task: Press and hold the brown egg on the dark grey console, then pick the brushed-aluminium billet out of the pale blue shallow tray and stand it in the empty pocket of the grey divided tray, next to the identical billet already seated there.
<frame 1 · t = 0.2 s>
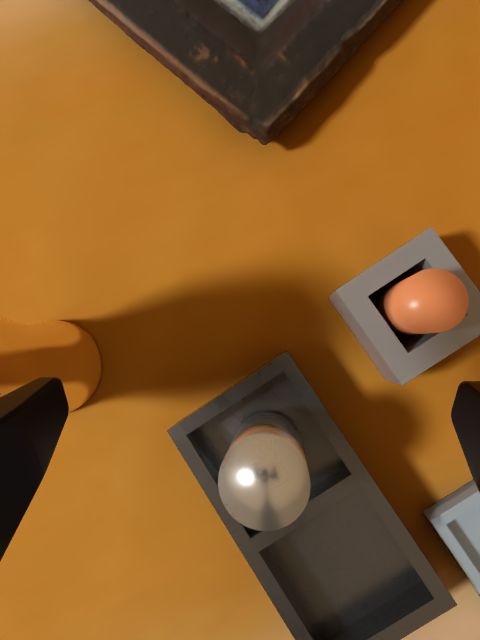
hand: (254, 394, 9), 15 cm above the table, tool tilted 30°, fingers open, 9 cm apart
button console: (398, 310, 23), on the table
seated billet: (267, 446, 23), point 1 cm above the table, touching grey divided tray
grey divided tray: (302, 494, 23), on the table
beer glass: (59, 366, 25), on the table
brown egg: (418, 304, 20), point 3 cm above the table, slide at 0.0 cm
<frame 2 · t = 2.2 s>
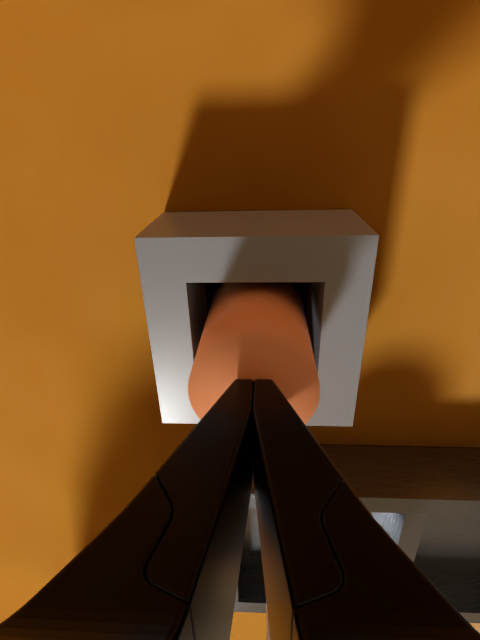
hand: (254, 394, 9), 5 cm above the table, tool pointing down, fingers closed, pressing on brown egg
button console: (257, 297, 14), on the table
grey divided tray: (384, 509, 18), on the table
brown egg: (255, 348, 10), point 3 cm above the table, slide at 0.0 cm, touching gripper
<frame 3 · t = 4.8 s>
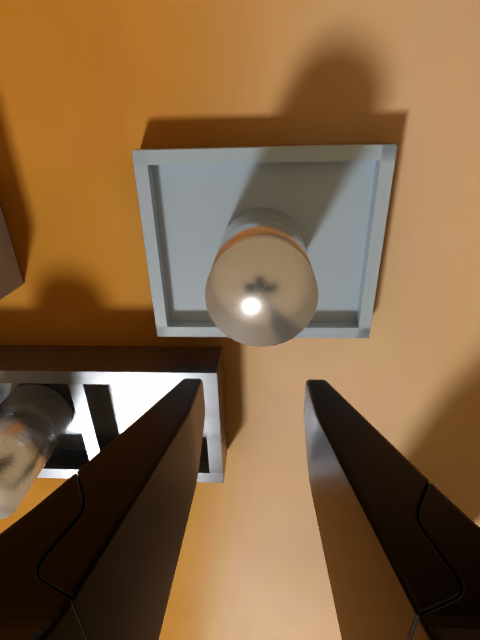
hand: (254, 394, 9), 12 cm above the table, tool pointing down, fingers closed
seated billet: (40, 410, 24), point 1 cm above the table, touching grey divided tray
grey divided tray: (104, 401, 24), on the table
billet: (261, 249, 19), resting on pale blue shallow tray
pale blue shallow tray: (261, 246, 19), on the table
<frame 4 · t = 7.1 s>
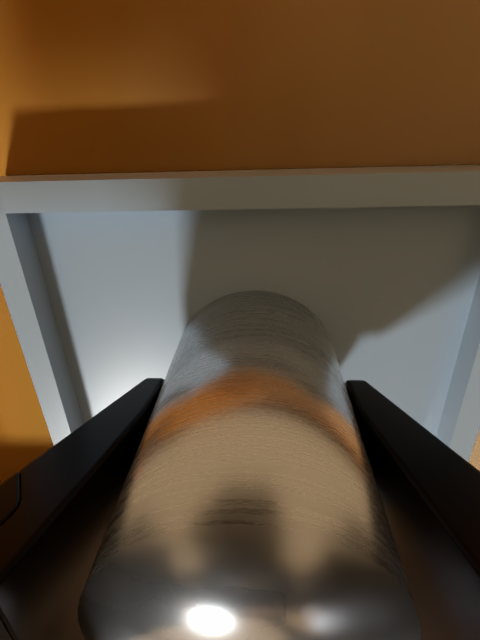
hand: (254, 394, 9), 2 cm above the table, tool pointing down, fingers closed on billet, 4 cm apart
billet: (255, 362, 10), resting on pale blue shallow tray, touching gripper
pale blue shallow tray: (255, 352, 10), on the table
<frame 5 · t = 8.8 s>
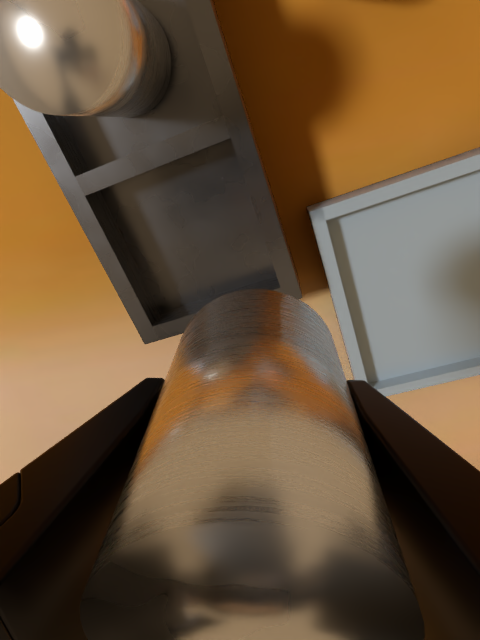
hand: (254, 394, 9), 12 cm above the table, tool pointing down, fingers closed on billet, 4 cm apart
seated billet: (120, 59, 15), point 1 cm above the table, touching grey divided tray
grey divided tray: (165, 153, 17), on the table
billet: (256, 361, 10), point 10 cm above the table, touching gripper
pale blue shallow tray: (423, 282, 20), on the table
when the fingers open (4 cm above the table, at t = 10.9 s): billet drops 1 cm, resting on grey divided tray.
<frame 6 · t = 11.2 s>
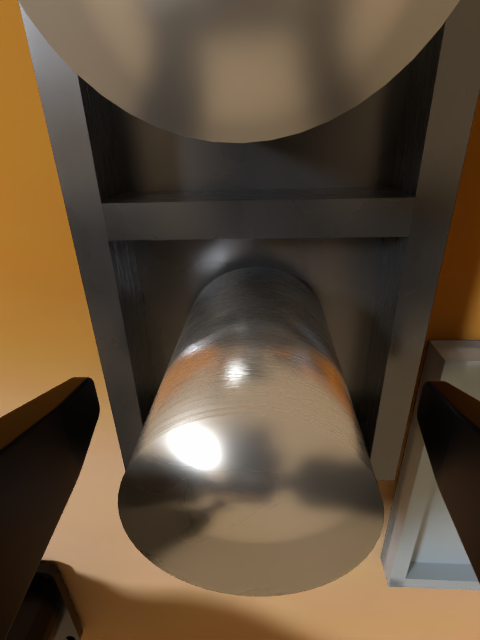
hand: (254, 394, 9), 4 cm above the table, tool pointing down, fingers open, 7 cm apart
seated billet: (254, 24, 8), point 1 cm above the table, touching grey divided tray
grey divided tray: (256, 198, 10), on the table
billet: (256, 332, 11), point 1 cm above the table, touching grey divided tray
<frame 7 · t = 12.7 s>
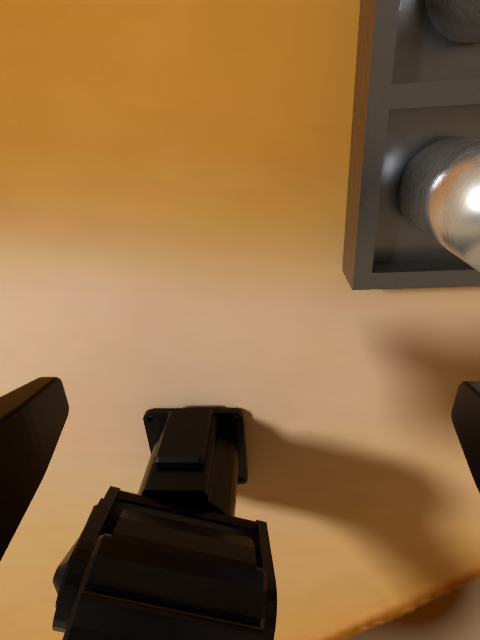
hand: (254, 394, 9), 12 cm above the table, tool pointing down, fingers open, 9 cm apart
grey divided tray: (451, 94, 16), on the table
billet: (444, 187, 17), point 1 cm above the table, touching grey divided tray
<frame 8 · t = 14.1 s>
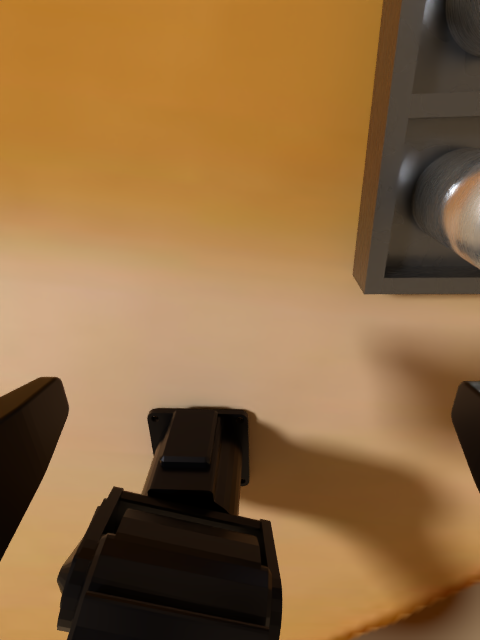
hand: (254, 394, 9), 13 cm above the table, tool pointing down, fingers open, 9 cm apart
grey divided tray: (466, 106, 17), on the table
billet: (457, 196, 17), point 1 cm above the table, touching grey divided tray
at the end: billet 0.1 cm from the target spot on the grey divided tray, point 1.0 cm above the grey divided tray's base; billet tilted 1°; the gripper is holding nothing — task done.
